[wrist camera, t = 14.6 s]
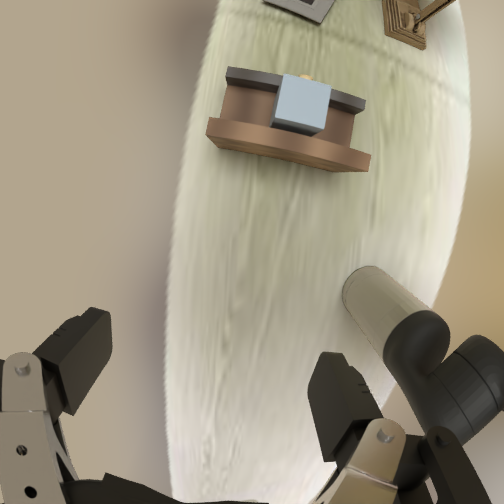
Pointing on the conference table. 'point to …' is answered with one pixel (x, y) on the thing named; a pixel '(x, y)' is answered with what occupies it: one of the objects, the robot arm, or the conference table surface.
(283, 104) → the cabinet block
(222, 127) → the board
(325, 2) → the electrical outlet
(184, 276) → the conference table surface
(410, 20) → the banker's lamp
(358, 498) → the robot arm
